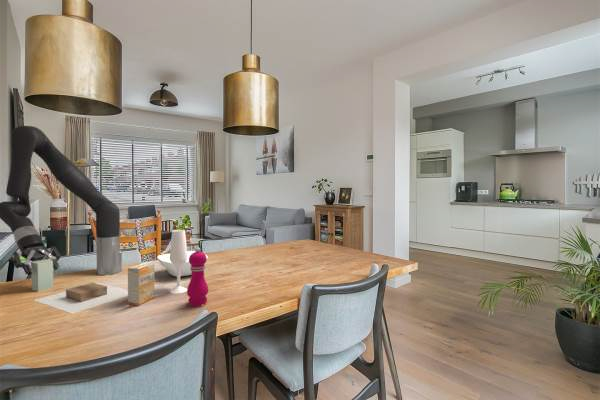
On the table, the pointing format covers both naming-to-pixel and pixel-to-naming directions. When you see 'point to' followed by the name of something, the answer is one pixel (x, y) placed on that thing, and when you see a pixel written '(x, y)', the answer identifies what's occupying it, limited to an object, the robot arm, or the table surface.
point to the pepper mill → (197, 279)
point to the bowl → (173, 269)
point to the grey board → (75, 306)
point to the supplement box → (140, 283)
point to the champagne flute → (178, 256)
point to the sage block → (42, 275)
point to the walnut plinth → (86, 292)
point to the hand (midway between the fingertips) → (44, 271)
